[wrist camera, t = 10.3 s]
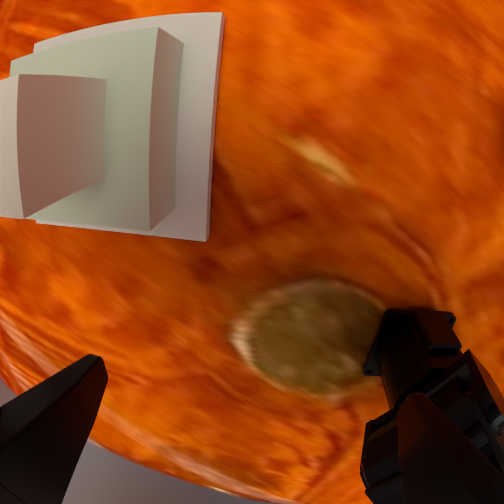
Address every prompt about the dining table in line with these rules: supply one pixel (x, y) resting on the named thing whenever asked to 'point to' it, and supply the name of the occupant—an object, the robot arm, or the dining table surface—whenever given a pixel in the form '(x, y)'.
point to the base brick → (123, 125)
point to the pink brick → (49, 139)
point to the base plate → (179, 116)
